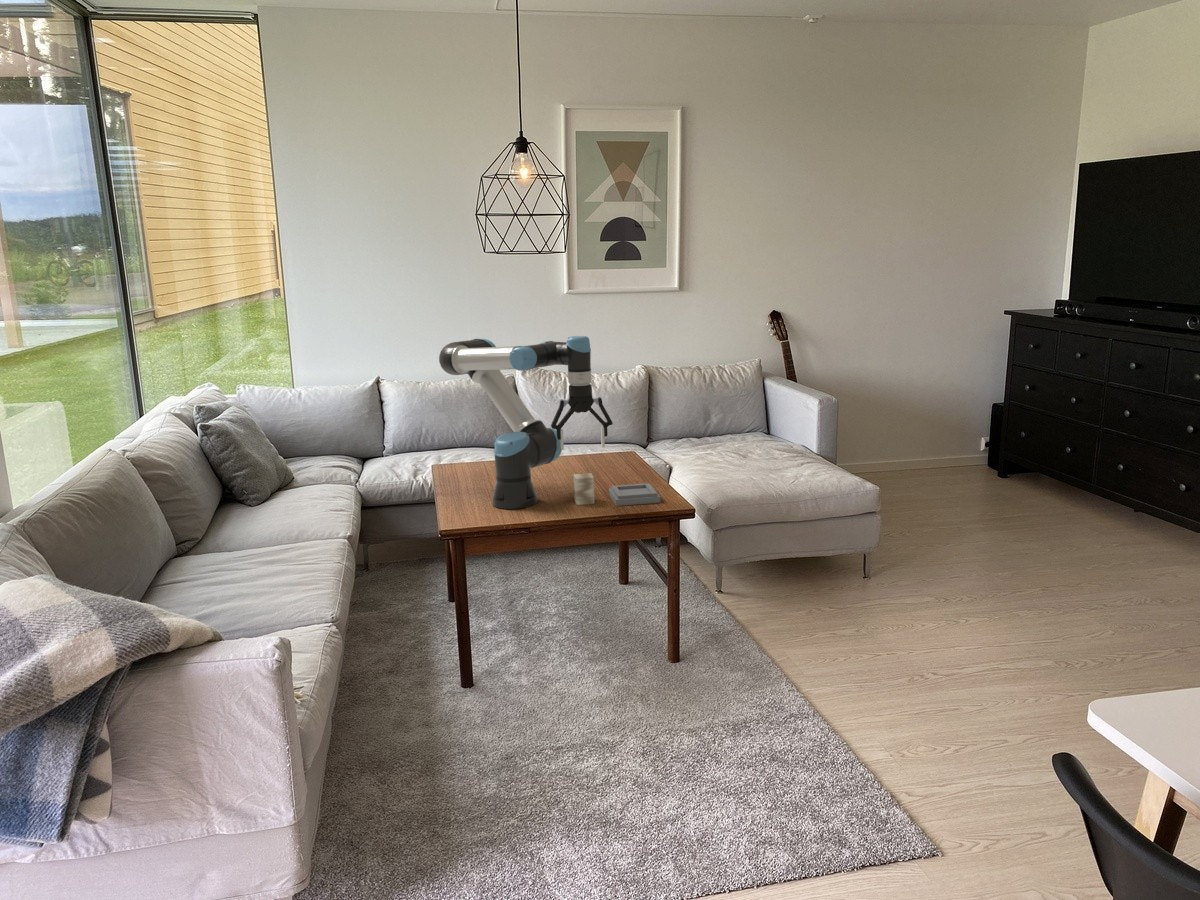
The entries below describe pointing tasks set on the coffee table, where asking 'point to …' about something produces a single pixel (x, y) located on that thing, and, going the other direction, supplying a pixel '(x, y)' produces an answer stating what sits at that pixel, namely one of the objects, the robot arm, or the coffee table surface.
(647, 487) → the slate plinth
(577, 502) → the birch block
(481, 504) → the coffee table surface
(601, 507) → the coffee table surface
